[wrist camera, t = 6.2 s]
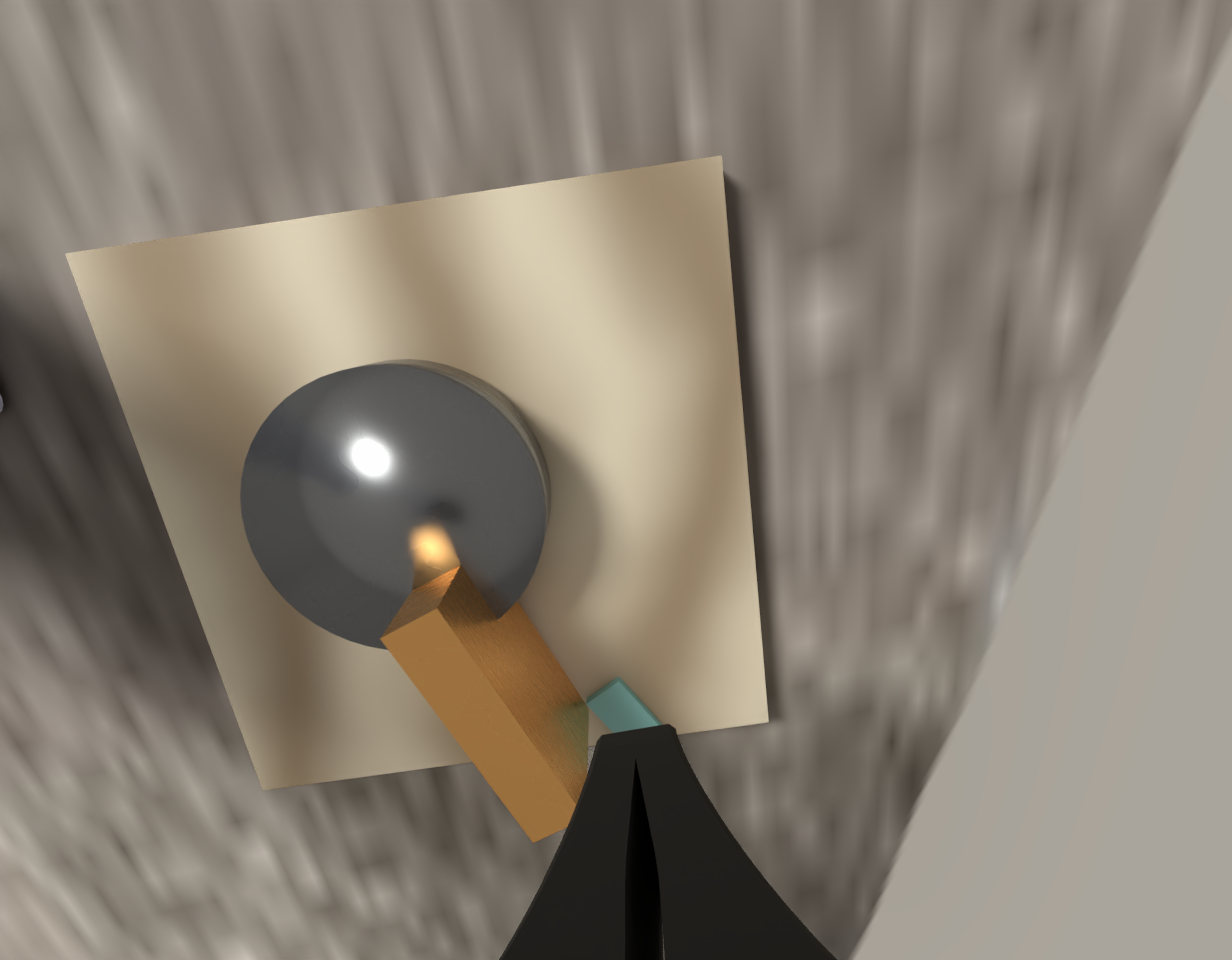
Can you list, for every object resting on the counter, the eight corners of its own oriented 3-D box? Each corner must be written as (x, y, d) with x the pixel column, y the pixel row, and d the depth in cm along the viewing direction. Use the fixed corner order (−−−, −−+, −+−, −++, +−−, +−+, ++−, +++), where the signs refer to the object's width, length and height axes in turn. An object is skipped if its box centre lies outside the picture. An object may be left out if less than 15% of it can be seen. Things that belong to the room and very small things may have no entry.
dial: (226, 443, 18) (96, 490, 13) (457, 306, 17) (405, 304, 12) (468, 764, 21) (431, 890, 16) (673, 663, 20) (694, 767, 15)
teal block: (586, 698, 21) (586, 703, 20) (618, 676, 20) (618, 681, 20) (631, 746, 21) (631, 752, 21) (662, 725, 21) (663, 730, 21)
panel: (277, 769, 22) (262, 790, 21) (95, 256, 17) (64, 253, 16) (761, 704, 22) (768, 722, 21) (714, 164, 17) (721, 155, 16)
